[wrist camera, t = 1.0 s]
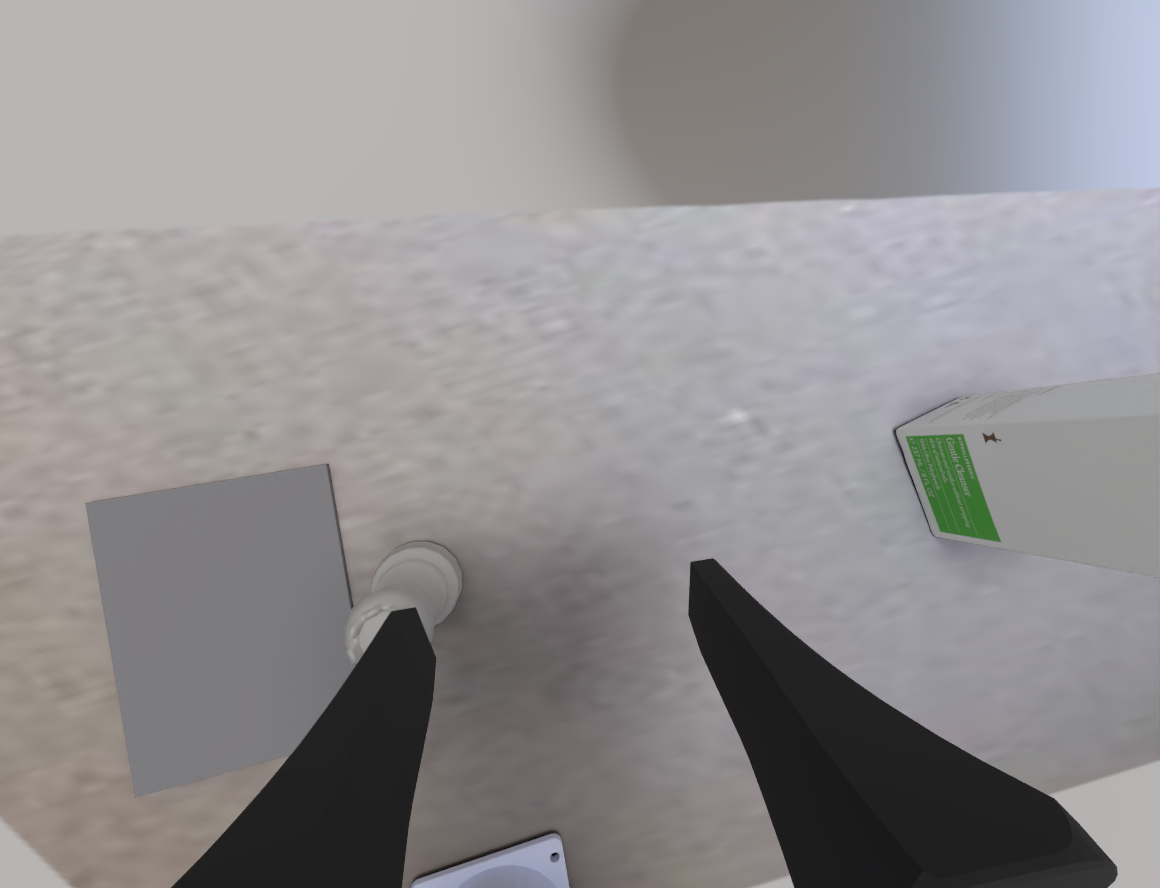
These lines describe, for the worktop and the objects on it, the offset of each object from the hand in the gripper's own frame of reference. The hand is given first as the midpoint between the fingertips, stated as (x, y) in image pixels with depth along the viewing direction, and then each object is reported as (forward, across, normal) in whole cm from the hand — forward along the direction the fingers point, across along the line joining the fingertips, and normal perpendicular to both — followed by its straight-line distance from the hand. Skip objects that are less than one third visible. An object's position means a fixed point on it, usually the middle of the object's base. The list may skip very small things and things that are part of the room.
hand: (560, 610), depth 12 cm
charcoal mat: (+9, +16, +7) cm, 20 cm away
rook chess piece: (+10, +8, +8) cm, 15 cm away
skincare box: (+15, -27, +9) cm, 32 cm away
